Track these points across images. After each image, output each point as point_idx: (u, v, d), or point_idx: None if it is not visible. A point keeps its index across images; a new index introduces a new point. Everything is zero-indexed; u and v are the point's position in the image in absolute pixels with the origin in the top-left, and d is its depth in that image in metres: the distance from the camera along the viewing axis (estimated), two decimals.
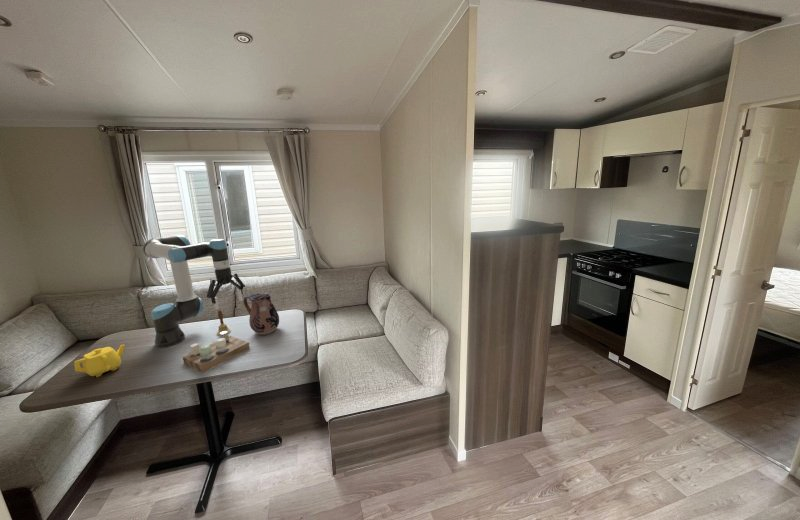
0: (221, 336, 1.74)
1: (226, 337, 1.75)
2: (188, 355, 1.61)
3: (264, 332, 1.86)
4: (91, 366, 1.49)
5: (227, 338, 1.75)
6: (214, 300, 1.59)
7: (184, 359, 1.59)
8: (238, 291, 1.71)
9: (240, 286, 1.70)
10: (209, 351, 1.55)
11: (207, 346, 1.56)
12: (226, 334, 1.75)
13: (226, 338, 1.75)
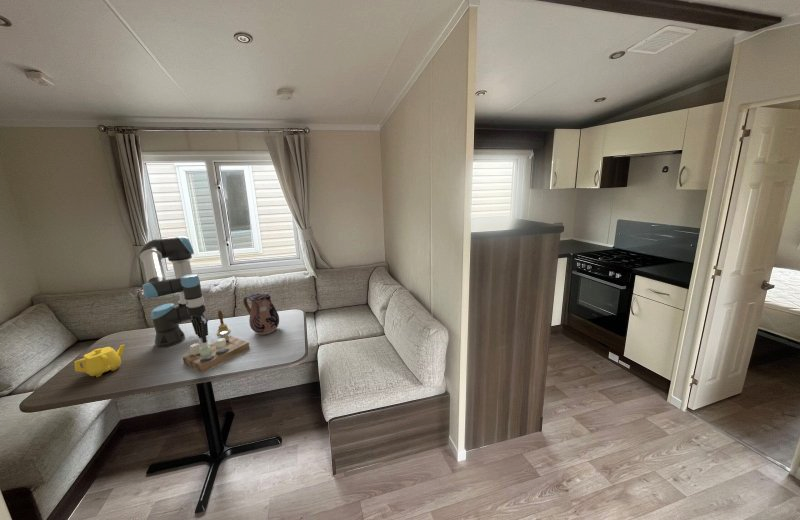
0: (221, 336, 1.74)
1: (226, 337, 1.75)
2: (188, 355, 1.61)
3: (264, 332, 1.86)
4: (91, 366, 1.49)
5: (227, 338, 1.75)
6: None
7: (184, 359, 1.59)
8: None
9: (200, 334, 1.51)
10: (209, 352, 1.55)
11: (207, 347, 1.56)
12: (226, 334, 1.75)
13: (226, 338, 1.75)
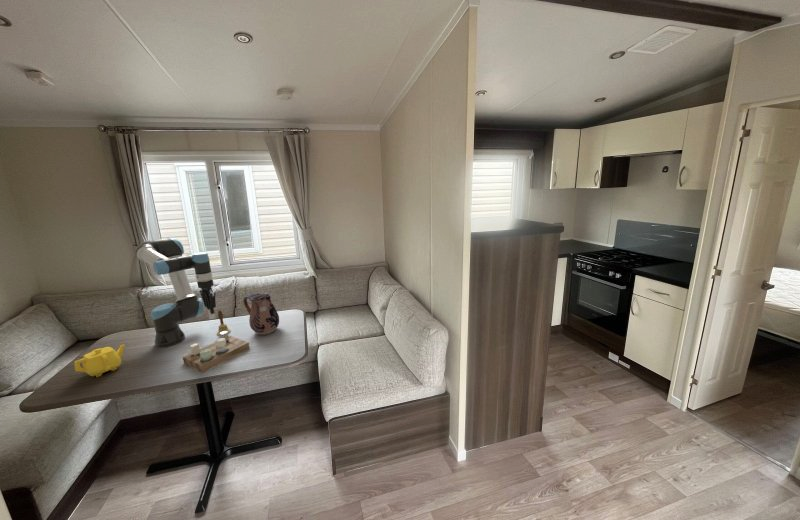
0: (221, 336, 1.74)
1: (226, 337, 1.75)
2: (188, 355, 1.61)
3: (264, 332, 1.86)
4: (91, 366, 1.49)
5: (227, 338, 1.75)
6: None
7: (184, 359, 1.59)
8: None
9: (209, 306, 1.70)
10: (210, 355, 1.56)
11: (208, 350, 1.56)
12: (226, 334, 1.75)
13: (226, 338, 1.75)
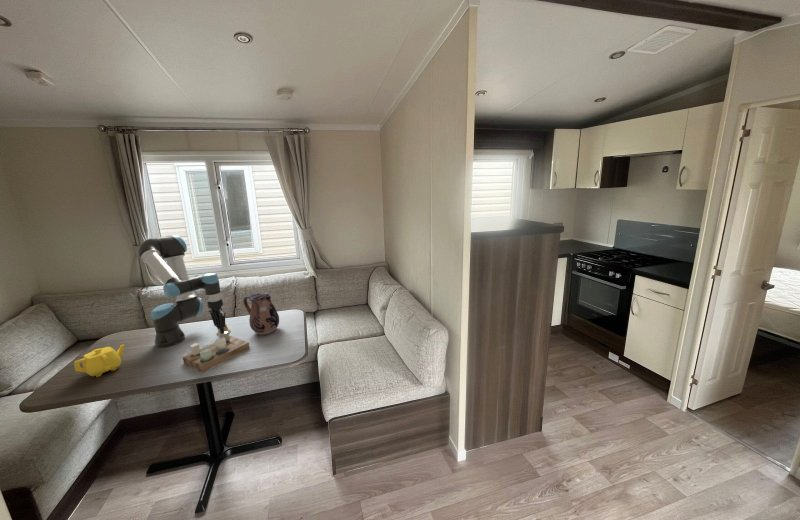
0: (221, 336, 1.74)
1: (227, 337, 1.74)
2: (188, 355, 1.61)
3: (264, 332, 1.86)
4: (91, 366, 1.49)
5: (228, 338, 1.75)
6: (218, 329, 1.75)
7: (184, 359, 1.59)
8: None
9: (219, 325, 1.73)
10: (210, 355, 1.56)
11: (208, 350, 1.56)
12: (227, 334, 1.74)
13: (227, 338, 1.74)
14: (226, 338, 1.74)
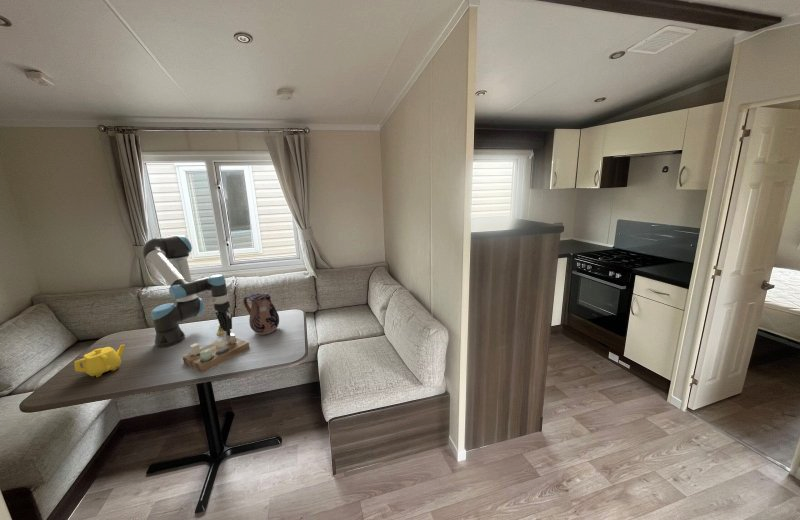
0: (228, 339, 1.70)
1: (234, 340, 1.71)
2: (188, 355, 1.61)
3: (264, 332, 1.86)
4: (91, 366, 1.49)
5: (234, 341, 1.72)
6: None
7: (184, 359, 1.59)
8: None
9: (225, 328, 1.70)
10: (210, 355, 1.56)
11: (208, 350, 1.56)
12: (233, 337, 1.71)
13: (233, 341, 1.71)
14: (233, 340, 1.71)
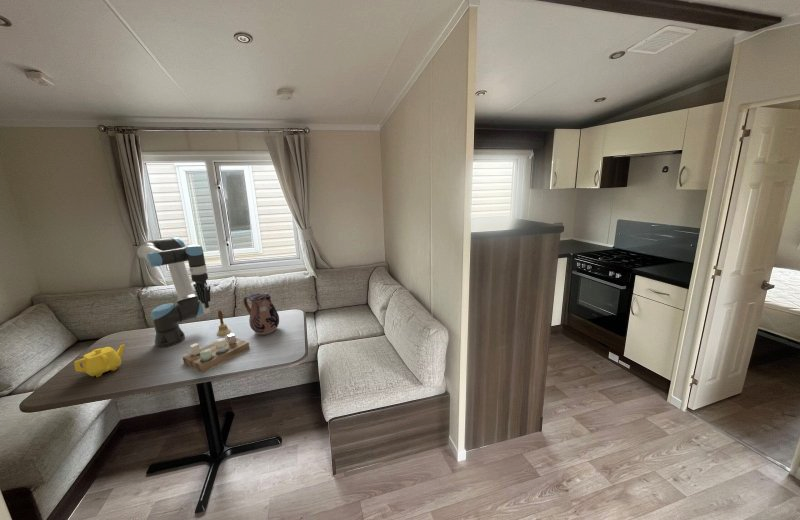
0: (228, 339, 1.70)
1: (234, 340, 1.71)
2: (188, 355, 1.61)
3: (264, 332, 1.86)
4: (91, 366, 1.49)
5: (234, 341, 1.72)
6: None
7: (184, 359, 1.59)
8: None
9: (203, 300, 1.65)
10: (210, 355, 1.56)
11: (208, 350, 1.56)
12: (233, 337, 1.71)
13: (233, 341, 1.71)
14: (233, 340, 1.71)
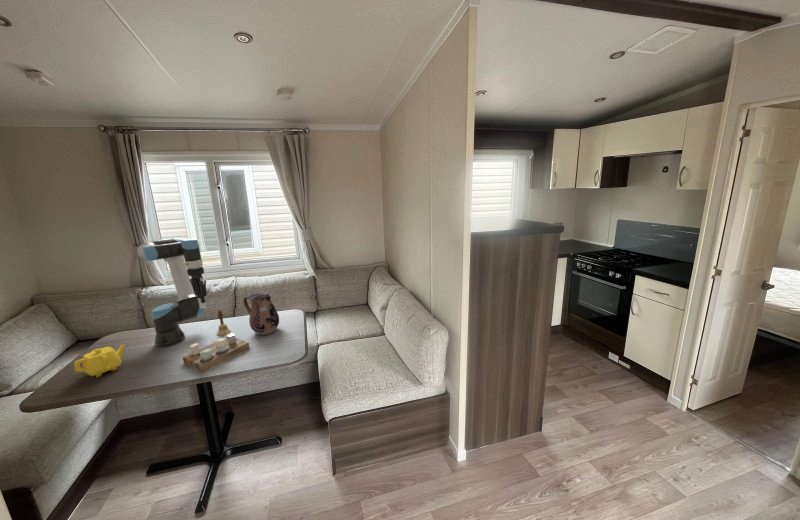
0: (228, 339, 1.70)
1: (234, 340, 1.71)
2: (188, 355, 1.61)
3: (264, 332, 1.86)
4: (91, 366, 1.49)
5: (234, 341, 1.72)
6: None
7: (184, 359, 1.59)
8: None
9: (199, 295, 1.64)
10: (210, 355, 1.56)
11: (208, 350, 1.56)
12: (233, 337, 1.71)
13: (233, 341, 1.71)
14: (233, 340, 1.71)
